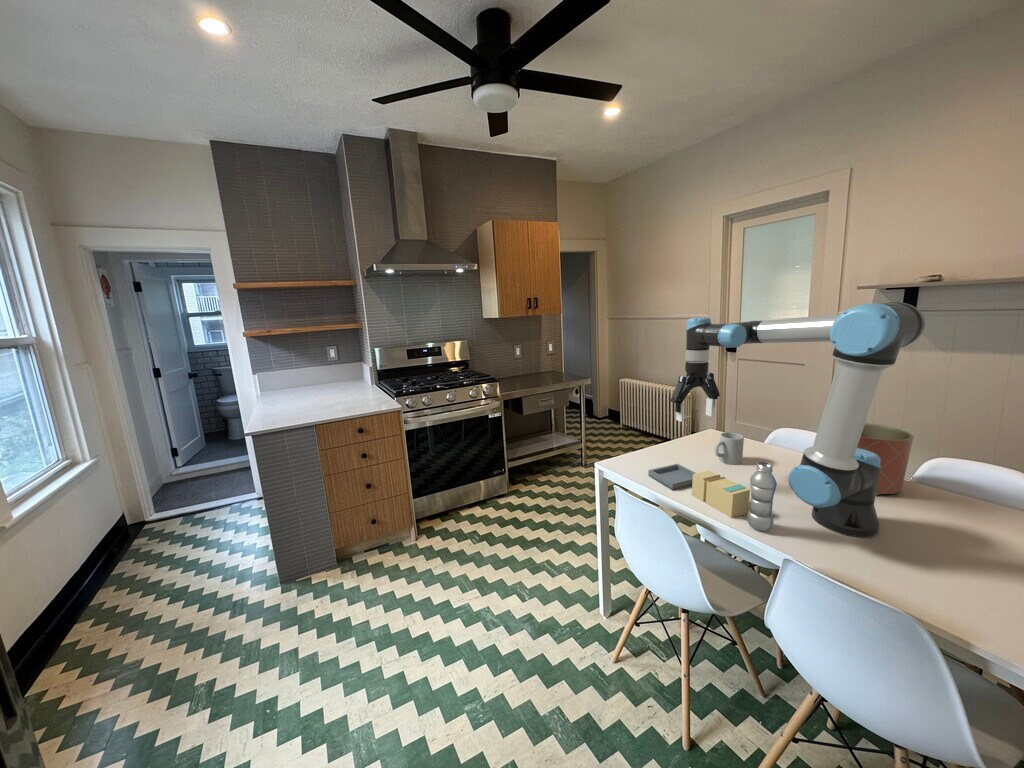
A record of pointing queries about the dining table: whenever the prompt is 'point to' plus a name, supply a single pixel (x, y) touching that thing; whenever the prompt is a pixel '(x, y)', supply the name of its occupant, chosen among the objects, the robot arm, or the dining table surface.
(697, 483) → the plain tan block
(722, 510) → the tan teal-banded block
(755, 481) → the plastic bottle
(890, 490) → the planter
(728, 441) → the mug
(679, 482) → the tray
